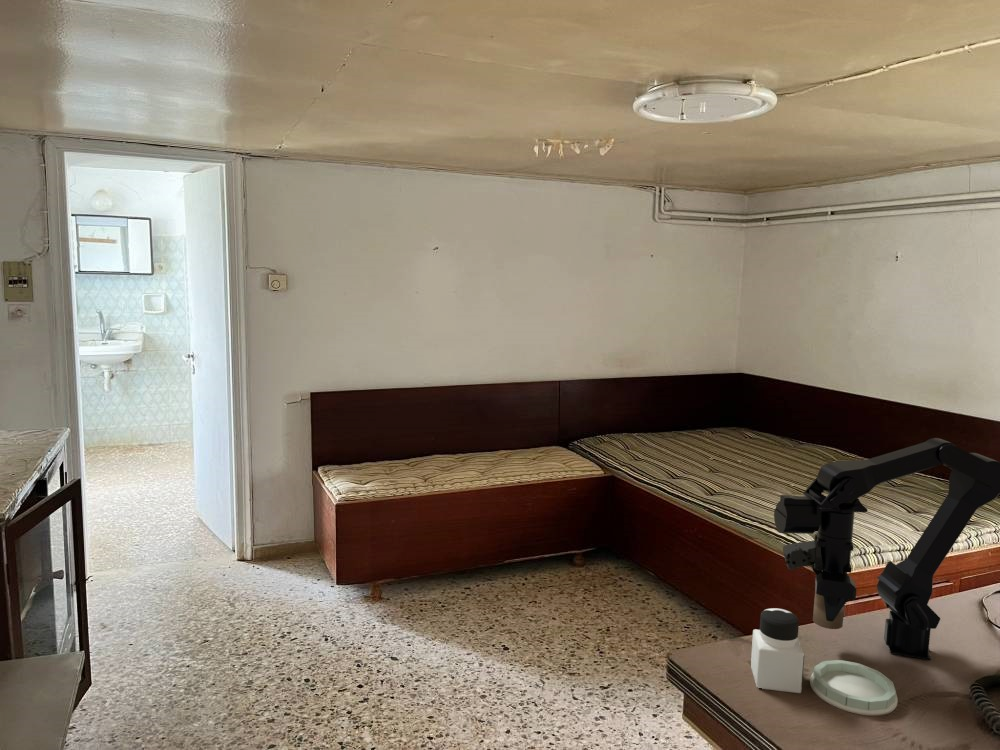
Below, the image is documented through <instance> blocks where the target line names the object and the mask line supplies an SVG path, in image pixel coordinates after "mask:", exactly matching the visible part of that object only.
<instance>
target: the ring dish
mask: <svg viewBox="0 0 1000 750" xmlns="http://www.w3.org/2000/svg"><path fill="white" fill-rule="evenodd" d="M809 684H810V687H811V690H812V691H813V692H814V694H816V696H817V697H818V698H820V699H821V700H822V701H824V702H826V703H828V704H829V705H831V706H833V707H835V708H838V709H840V710H842V711H845V712H849V713H853V714H856V715H862V716H884V715H888V714H890V713H892V712H894V711H896V710H895V709H896V708H897V707H898V701H899V699H898V695H897V691H896V687H895V685H894V682H893V681H892V680H891V679H889V677H887V676H886V675H885V674H883V673H882V672H881V671H879V670H877V669H874V668H871V667H869V666H866V664H862V663H859V662H853V661H847V660H841V659H835V660H823V661H821V662H820V663H819V664H817V665H815V666H814V667H813V672H812V674H811V675H810V679H809Z"/></svg>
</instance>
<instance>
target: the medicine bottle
mask: <svg viewBox="0 0 1000 750" xmlns="http://www.w3.org/2000/svg"><path fill="white" fill-rule="evenodd" d="M759 618H760V620H759V629H756V628H755V629H753V630H752V643H751V644H752V645H751V656H750V657H751V660H750V667H751V672H752V675H753V679H754V682H755V685H756V688H757V687H758V688H757V689H759V688H762V689H761V690H770V691H777V692H786V693H793V694H801V693H802V691H803V690H802V689H803V679H804V665H805V653H804V650H803V648H802V645H801V644H800V640H799V626H800V619H799V618H798V616H797V615H796V614H794V613H792V612H791V611H789V610H786V609H783V608H776V607H775V608H774V607H773V608H772V607H771V608H766V609H764V610H763V611H761V613H760V617H759Z"/></svg>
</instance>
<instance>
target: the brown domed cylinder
mask: <svg viewBox="0 0 1000 750" xmlns="http://www.w3.org/2000/svg"><path fill="white" fill-rule="evenodd" d="M813 603H814V604H813V614H812V615H813V616H812V621H813V623H814V624H816V625H817V626H819V627H822V628H825V629H829V630H838V629H841V628H843V625H844V624H843V623H844V615H845V614H844V613H845V605H844V606H843V608H842V609H841V610H840V612H839V613H838V615H837V616H836V618H835V619H834V621H833V622H831V621H827V620H826V613H825V605H824V598H823V596H821V595H818V594H816V589H815V590H814V601H813Z"/></svg>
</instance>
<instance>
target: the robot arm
mask: <svg viewBox="0 0 1000 750" xmlns="http://www.w3.org/2000/svg"><path fill="white" fill-rule="evenodd" d="M938 466H945V467H947V468H949V469H951V472H950V474H949V478H948V493H947V495H946V497H945V499H944V500H943V501H942V503H941V504H940V506H939V508H938V509H937V511H936V512H935V514H934V515H933V517H932V518H931V520H930V522H929V523H928V525H927V526H926V527H925V530H924V531H923V533H922V534H921V536H920V537H919V539H918V540H917V541H916V543H915V545H914V546H913V548H912V549H911V551H910V552H909V554H908V555H907V557H906V558H905V559H904V560H902V561H900V562H898V563H897V564H895V563H894V562H893V561H891V560H890V561H888V562H887V563H886V565H885V567H884V569H883V571H882V572H881V574H879V575H878V576H876V578H877V580H878V582H877V584H876V590H877V594H878V596H879V597H880V599H882V600H883V602H884V605H885V607H886V608H887V609H889V616H888V617H889V618H886V619H885V624H884V634H883V639H884V644H885V645H886V646H887V648H888V651H889V653H891V655H892V654H893V655H899V656H902V657H903V656H904V657H909V658H916V659H921V660H928V661H930V660H931V658H932V657H931V654H930V652H929V649H930V641H931V640H930V639H931V629H933V630H934V629H937V628H938V625H939V623H940V621H941V617H940V616H939V615H938V614H937V613H936V612H935V611H934V610H933V609H932V608H931V607H930V606H929V602H930V601H931V597H932V595H933V587H934V586H933V583H934V576H935V574H936V572H937V570H938V569H939V567H940V566H941V565H942V563H943V561H944V560H945V558H946V556H948V553H949V552H950V551H951V549H952V548H953V546H954V544H955V543H956V542H957V540H958V539H959V537H960V536H961V534H962V533H963V531H964V530H965V528H966V526H967V525H968V523H969V522H970V520H972V518H973V516H974V514H975V513H976V511H977V510H978V509H979V508H981V507H983V506H985V505H986V504H988V503H990V502H992V501H994V500H995V499H996V498H998V497H999V495H1000V461H998V460H995V459H993V458H990V457H987V456H984V455H982V454H980V453H977V452H968V451H966V450H963V449H962V448H960V447H958V446H956V445H955V444H954V443H953V442H950V441H947V440H945V439H942V438H938V437H934V438H933V437H932V438H930V439H927V440H926V441H924V442H920V443H918V444H915V445H914V444H913V445H911V446H910V445H909V446H907V447H904V448H900V449H897V450H895V451H894V450H893V451H892V452H891V451H890V452H888V453H885V454H881V455H877V456H874V457H871V458H868V459H863V460H861V459H860V460H852V459H850V460H840V461H830V462H828V463H827V462H826V464H824V465H822V466H821V467H820V469H819V471H818V473H817V477H816V478H814V479H813V481H812V482H811V483H810V484H809V486H807V487H806V489H805V490H804V491H803V493H802V494H803V495H804V496H802V495H801V496H800V495H795V496H794V495H790V494H781V495H780V498H779V501H778V502H777V504H776V505H775V508H774V511H773V519H774V524H775V528H776V530H777V531H778V533H780V534H799V535H800V534H803V535H805V534H807V535H808V534H809V535H810V534H811V535H812V534H814V538H813V539H814V540H808V541H806V540H804V541H800V542H794V543H789V544H786V545H783V546H782V555H783V556H784V560H785V563H786V566H787V569H788V570H791V571H793V570H797V569H798V568H799V569H800V568H804V567H809V566H811V569H812V571H813V572H814V574H815V580H814V581H815V583H814V586H815V589H816V594H818V595H821V596H823V598H824V605H825V613H826V620H827V621H831V622H833V621H834V619H835V618H836V616H837V615H838V613H839V612H840V610H841V609H842V608H843V606H844V607H845V605H846V604H847V602H848V601H854V600H857V599H856V598H857V586H856V583H855V580H853V579H852V578H851V576H850V575H848V573H850V574H851V573H852V565H851V560H852V559H851V558H852V556H851V555H852V551H854V544H853V534H854V533H853V532H854V521H855V513H867V512H868V508H867V507H865V506H864V505H863V503H862V502H861V501H860V499H859V498H862V497H863V496H865V495H868V494H869V493H870V492H871V491H872V490H873V489H874V488H875V487H877V486H879V485H880V484H883V483H887V482H890V481H893V480H896V479H900V478H904V477H906V476H910V475H913V474H917V473H918V472H919V473H920V472H923V471H926V470H929V469H932V468H933V469H934V468H937V467H938ZM824 492H825V493H826V494H828V495H824V494H823V493H824ZM815 532H816V534H815Z"/></svg>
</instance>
